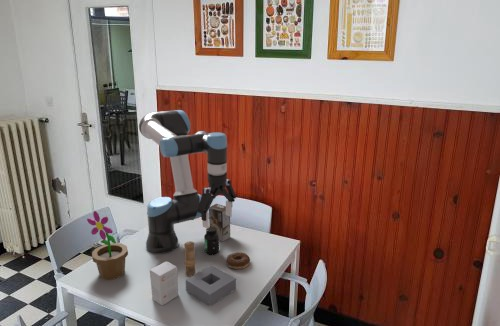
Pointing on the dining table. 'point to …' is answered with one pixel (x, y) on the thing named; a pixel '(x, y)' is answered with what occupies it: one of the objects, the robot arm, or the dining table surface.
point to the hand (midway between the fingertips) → (217, 221)
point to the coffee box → (220, 221)
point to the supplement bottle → (211, 241)
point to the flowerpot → (108, 251)
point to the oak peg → (189, 258)
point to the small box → (164, 282)
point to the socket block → (210, 285)
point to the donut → (238, 260)
